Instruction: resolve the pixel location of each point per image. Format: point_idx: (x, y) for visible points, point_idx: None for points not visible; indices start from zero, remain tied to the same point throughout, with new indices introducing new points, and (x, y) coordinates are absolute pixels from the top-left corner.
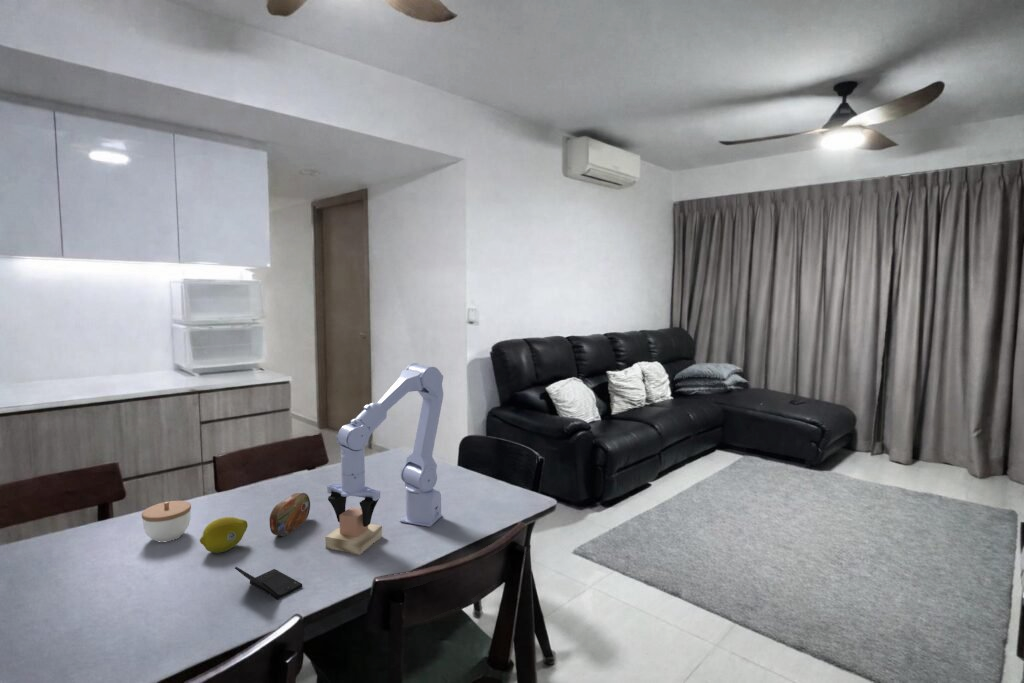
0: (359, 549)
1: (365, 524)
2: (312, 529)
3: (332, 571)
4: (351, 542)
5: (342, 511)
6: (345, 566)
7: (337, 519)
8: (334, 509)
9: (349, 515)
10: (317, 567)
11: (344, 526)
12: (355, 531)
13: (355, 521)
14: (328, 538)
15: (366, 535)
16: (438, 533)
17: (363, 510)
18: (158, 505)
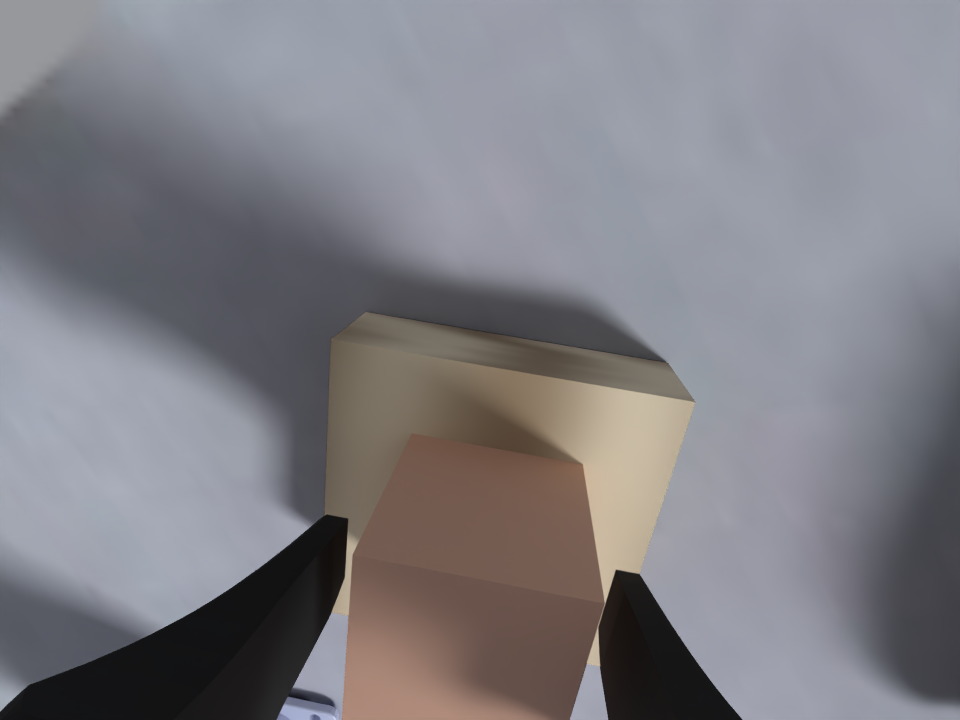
0: (353, 323)
1: (312, 527)
2: (885, 593)
3: (437, 15)
4: (413, 349)
5: (623, 693)
6: (377, 122)
7: (648, 590)
8: (714, 694)
9: (469, 600)
10: (597, 49)
11: (532, 501)
12: (412, 461)
13: (380, 525)
14: (658, 391)
15: (346, 464)
16: (69, 610)
17: (210, 644)
18: None
